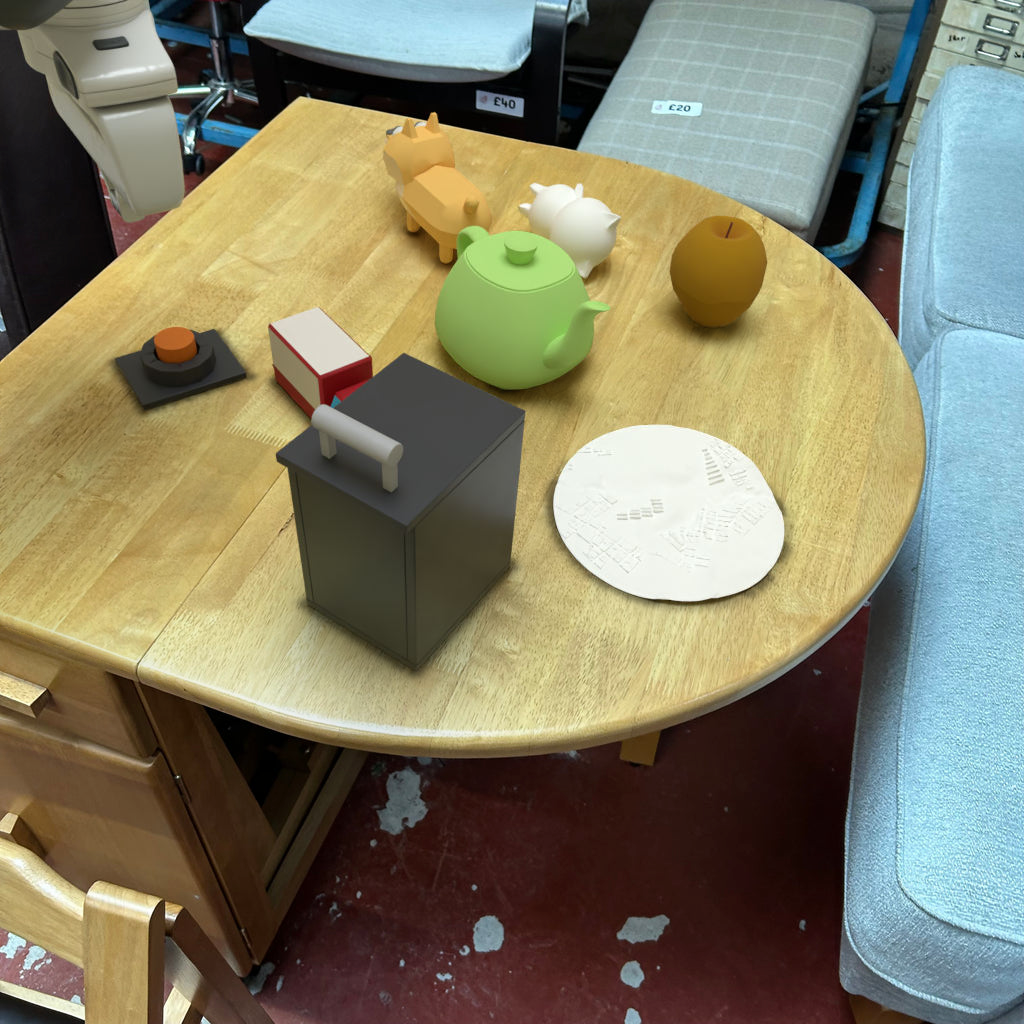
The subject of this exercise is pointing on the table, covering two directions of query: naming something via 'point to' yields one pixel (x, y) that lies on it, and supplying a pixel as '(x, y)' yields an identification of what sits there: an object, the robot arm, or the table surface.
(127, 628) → the table surface
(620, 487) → the plaque
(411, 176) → the dog
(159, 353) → the button
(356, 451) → the storage box lid
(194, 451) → the table surface
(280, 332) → the toy truck
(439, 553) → the lidded storage box
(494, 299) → the teapot
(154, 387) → the box
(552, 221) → the cat figurine
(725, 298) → the apple
